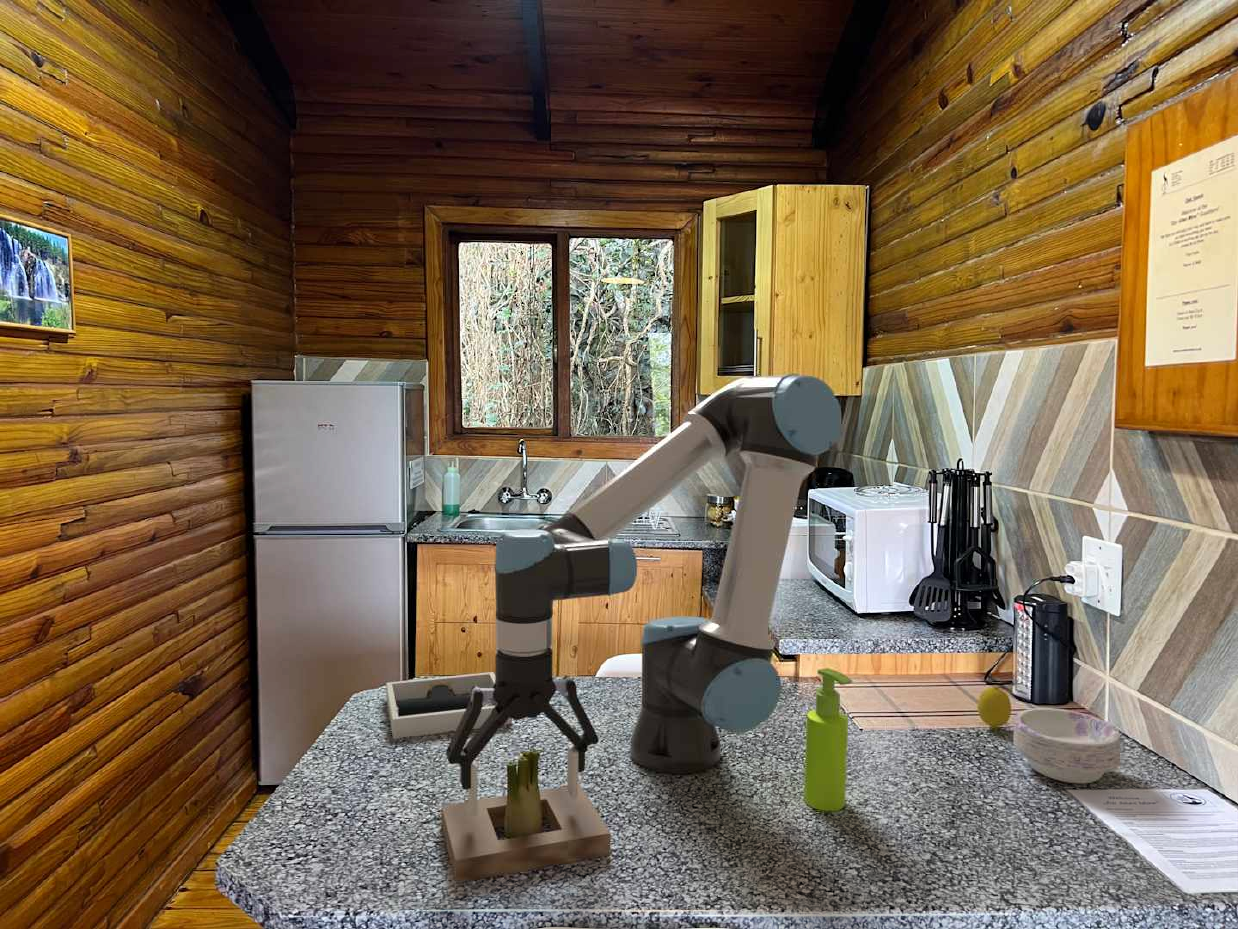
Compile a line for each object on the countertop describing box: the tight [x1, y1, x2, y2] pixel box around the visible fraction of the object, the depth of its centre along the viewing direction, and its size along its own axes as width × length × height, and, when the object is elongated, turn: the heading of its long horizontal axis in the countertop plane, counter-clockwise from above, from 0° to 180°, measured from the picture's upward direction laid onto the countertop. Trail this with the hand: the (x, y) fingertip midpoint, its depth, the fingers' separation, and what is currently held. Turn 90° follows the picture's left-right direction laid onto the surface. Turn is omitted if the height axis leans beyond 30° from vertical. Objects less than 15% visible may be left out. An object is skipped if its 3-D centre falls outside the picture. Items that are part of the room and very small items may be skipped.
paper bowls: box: [1012, 707, 1122, 784], centre depth 130 cm, size 15×15×8 cm
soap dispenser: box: [803, 667, 853, 812], centre depth 118 cm, size 6×7×20 cm
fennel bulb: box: [503, 749, 543, 839], centre depth 108 cm, size 6×5×12 cm
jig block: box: [441, 783, 611, 884], centre depth 108 cm, size 20×14×3 cm
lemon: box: [977, 685, 1012, 730], centre depth 147 cm, size 6×6×8 cm
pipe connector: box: [397, 683, 485, 717], centre depth 149 cm, size 12×5×15 cm
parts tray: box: [385, 671, 513, 740], centre depth 152 cm, size 21×19×4 cm
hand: (523, 802), depth 108 cm, fingers open, 13 cm apart
